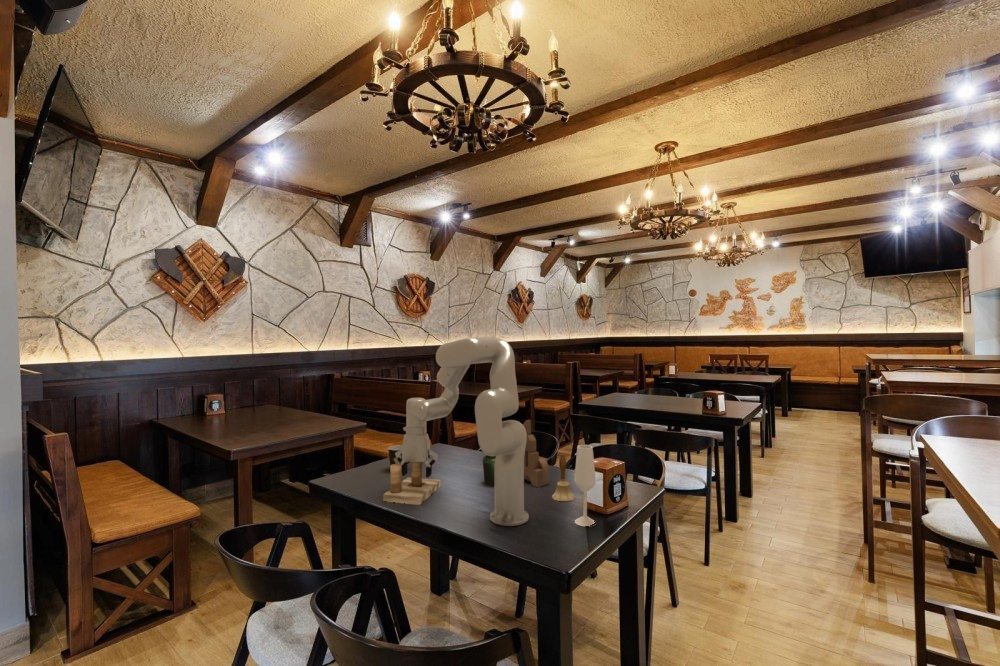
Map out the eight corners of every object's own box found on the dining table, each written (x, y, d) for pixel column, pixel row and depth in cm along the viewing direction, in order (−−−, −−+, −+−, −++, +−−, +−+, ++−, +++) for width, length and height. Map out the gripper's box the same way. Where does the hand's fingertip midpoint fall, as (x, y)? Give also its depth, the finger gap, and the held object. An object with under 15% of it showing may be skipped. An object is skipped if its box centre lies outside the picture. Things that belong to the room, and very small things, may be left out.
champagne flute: (570, 519, 148) (570, 445, 148) (587, 516, 151) (587, 443, 151) (582, 528, 142) (582, 450, 142) (600, 524, 145) (600, 447, 144)
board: (419, 505, 161) (419, 470, 161) (383, 501, 164) (383, 467, 164) (440, 486, 180) (440, 455, 180) (407, 483, 184) (407, 453, 184)
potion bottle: (488, 479, 189) (488, 435, 189) (506, 482, 185) (506, 437, 185) (478, 485, 182) (478, 439, 182) (496, 488, 178) (496, 441, 178)
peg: (419, 493, 173) (419, 461, 173) (409, 492, 174) (409, 460, 174) (423, 489, 177) (423, 458, 177) (414, 488, 178) (414, 457, 178)
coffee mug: (384, 472, 198) (384, 449, 198) (394, 467, 206) (394, 444, 206) (408, 475, 195) (408, 451, 195) (418, 469, 203) (418, 446, 203)
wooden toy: (549, 484, 183) (549, 421, 183) (537, 487, 179) (537, 423, 179) (523, 474, 195) (523, 415, 195) (511, 478, 191) (511, 417, 191)
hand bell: (565, 503, 162) (565, 458, 162) (547, 498, 168) (547, 454, 168) (579, 497, 168) (579, 454, 168) (560, 492, 174) (560, 450, 174)
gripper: (391, 431, 174) (391, 477, 174) (434, 434, 169) (434, 480, 169) (400, 427, 181) (400, 471, 181) (441, 429, 177) (441, 474, 177)
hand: (416, 475), depth 175 cm, fingers open, 9 cm apart
